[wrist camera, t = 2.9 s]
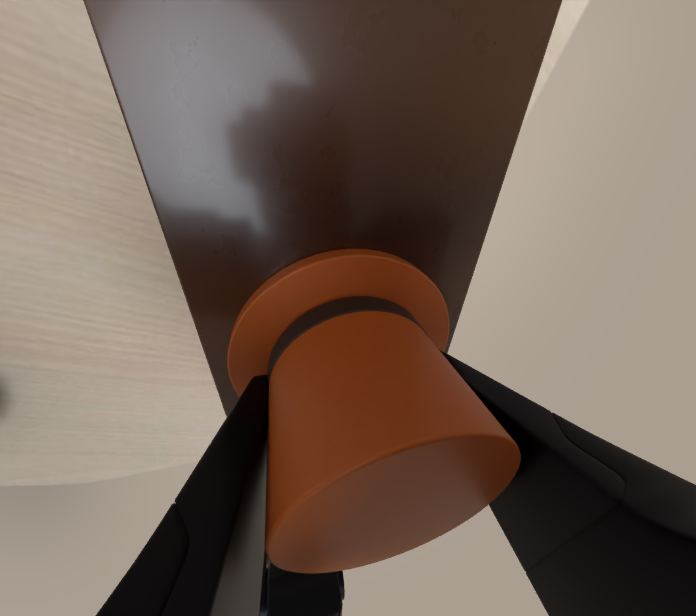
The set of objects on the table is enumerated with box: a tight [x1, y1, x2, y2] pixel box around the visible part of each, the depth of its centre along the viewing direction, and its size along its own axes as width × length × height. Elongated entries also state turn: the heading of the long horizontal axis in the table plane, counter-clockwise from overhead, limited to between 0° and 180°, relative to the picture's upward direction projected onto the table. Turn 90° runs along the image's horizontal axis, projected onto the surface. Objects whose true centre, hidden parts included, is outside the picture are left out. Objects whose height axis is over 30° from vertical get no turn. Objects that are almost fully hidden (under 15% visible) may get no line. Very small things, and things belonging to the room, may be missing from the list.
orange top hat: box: [227, 249, 521, 573], centre depth 7 cm, size 8×8×5 cm
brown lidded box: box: [83, 0, 562, 417], centre depth 11 cm, size 14×9×9 cm, turn 178°
